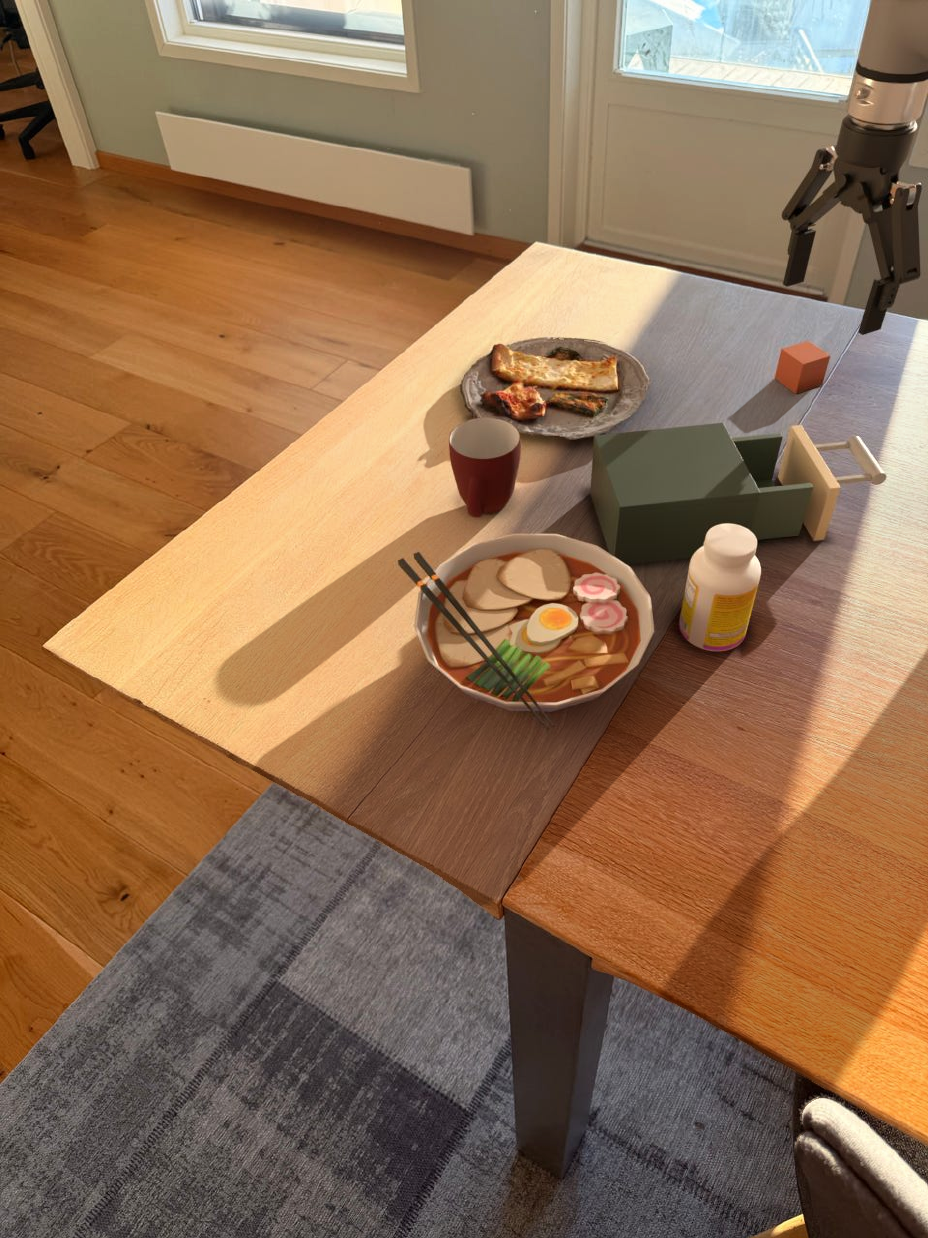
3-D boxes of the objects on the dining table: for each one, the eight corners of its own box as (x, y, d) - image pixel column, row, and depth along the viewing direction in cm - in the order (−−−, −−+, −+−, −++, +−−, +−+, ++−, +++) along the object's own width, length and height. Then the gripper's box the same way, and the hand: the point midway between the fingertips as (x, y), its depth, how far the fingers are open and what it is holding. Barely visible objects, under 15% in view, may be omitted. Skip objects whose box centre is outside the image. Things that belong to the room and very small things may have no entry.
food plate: (438, 431, 120) (437, 408, 117) (490, 342, 135) (490, 320, 132) (626, 460, 113) (629, 436, 111) (659, 364, 128) (661, 341, 126)
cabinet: (710, 487, 109) (723, 422, 102) (744, 558, 100) (760, 492, 94) (589, 499, 108) (594, 435, 102) (612, 572, 100) (619, 507, 93)
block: (822, 385, 123) (830, 355, 120) (795, 394, 122) (803, 364, 119) (800, 369, 126) (808, 340, 123) (774, 378, 125) (781, 348, 121)
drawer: (838, 471, 109) (855, 419, 103) (879, 534, 101) (899, 481, 95) (675, 488, 108) (683, 436, 102) (703, 553, 100) (713, 500, 94)
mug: (517, 544, 104) (516, 474, 96) (447, 542, 104) (441, 472, 97) (522, 486, 111) (522, 417, 103) (457, 485, 112) (452, 416, 104)
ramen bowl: (702, 697, 87) (715, 640, 81) (499, 804, 80) (498, 750, 74) (557, 550, 103) (560, 493, 97) (376, 629, 95) (367, 572, 90)
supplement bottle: (757, 632, 93) (783, 538, 83) (719, 668, 90) (742, 574, 80) (702, 601, 96) (722, 506, 87) (664, 634, 93) (680, 540, 84)
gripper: (775, 90, 102) (741, 271, 118) (944, 163, 86) (879, 361, 102) (828, 78, 104) (787, 258, 120) (1002, 147, 89) (930, 344, 104)
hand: (829, 306), depth 111 cm, fingers open, 13 cm apart
